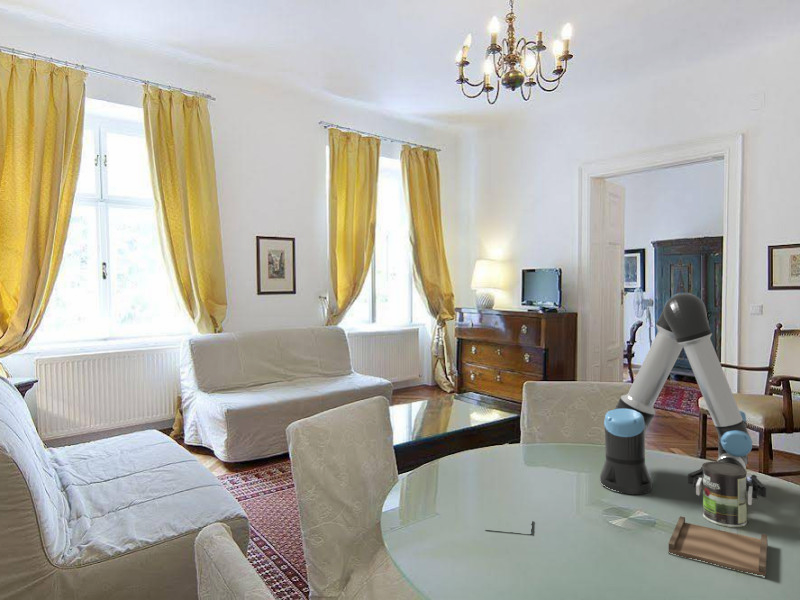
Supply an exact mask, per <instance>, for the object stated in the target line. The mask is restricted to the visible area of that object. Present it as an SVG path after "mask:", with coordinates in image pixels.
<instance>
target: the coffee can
mask: <svg viewBox="0 0 800 600" xmlns="http://www.w3.org/2000/svg"><path fill="white" fill-rule="evenodd" d="M701 467H702V468H703V485H702V509H703V510H702V511H703V512H702V516H703V518H704V519H705V520H706V521H708V522H709V523H712V524H715V525H716V526H717V525H718V526H722V527H726V526H727V527H728V528H743V527H745V526H746V525H747V524H748V521H747V491H746V477H747V473H748V471H747V469H746V470H745V469H744V468H742V467H740V466H738V465H735V464H731V463H726V462H717V461H706V462H703V463H702V465H701ZM742 526H743V527H742ZM727 527H726V528H727Z"/></svg>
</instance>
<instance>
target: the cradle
mask: <svg viewBox="0 0 800 600" xmlns="http://www.w3.org/2000/svg"><path fill="white" fill-rule="evenodd" d="M669 552H670V553H673V554H676V555H679V556H683V557H686V558H685V559H687V558H692V559H697V560H701V561H705V562H708V563H712V564H716V565H719V566H723V567H727V568H731V569H735V570H739V571H743V572H748V573H753V574H757V575H763V576H765V575H767V562H766V561H768V560H767V558H768V534H764V533H761V534H760V538H757V537H753V536H748V535H744V534H739V533H734V532H730V531H726V530H720V529H717V528H712V527H707V526H704V525H703V526H702V525H698V524H693V523H689V522H686V517H685V516H681V515H680V516H679V517H678V521H677V522H676V525H675V527H674V530H673V532H672V535H670V539H669V542H668V553H669ZM679 556H678V557H679ZM683 557H682V558H683Z"/></svg>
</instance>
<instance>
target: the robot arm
mask: <svg viewBox="0 0 800 600" xmlns="http://www.w3.org/2000/svg"><path fill="white" fill-rule="evenodd" d="M655 326H656V329H657V333H656V336H655V337H654V340H653V342H652V343H651V346H650V348H649V350H648V351H647V354H646V356H645V358H644V360H643V362H642V363H641V366H640V367H639V370H638V371H637V373H636V376H635V378H634V379H633V383H632V384H631V387H630V388H629V390H628V393H626V394H623V395H620V398H619V400H618V401H617V405H616V406H615V409H611V410H608V411H607V412H606V413H605V415H604V421H603V425H604V439H605V440H604V445H605V446H604V448H605V449H604V450H605V452H604V454H605V461H604V464H603V467H602V468H601V469H602V470H601V473H600V476H599V477H600V479H599V480H600V481H601V483H602V484H603V485H605V486H606V487H608V488H610V489H613V490H616V491H619V492H622V493H621V494H624V493H628V494H627V495H642V494H647V493H650V492H651V491H652V488H653V486H652V483H653V482H652V479H651V476H650V473H649V469H648V468H647V465H646V450H645V448H646V447H645V445H646V444H645V443H646V441H645V439H646V434H647V430H648V428H649V426H650V425H651V423H652V420H653V419H654V417H655V415H656V411H655V408H654V406H655V403H656V401H657V399H658V397H659V395H660V394H661V391H662V389H663V387H664V385H665V383H666V382H667V379H668V377H669V375H670V373H671V371H672V370H673V368H674V366H675V364H676V361H677V360H678V358H679V356H680V354H681V352H682V350H684V353H685V355H686V357H687V360H688V363H689V365H690V369H691V370H692V373H693V375H694V377H695V380H696V383H697V385H698V387H699V390H700V393H701V395H702V397H703V400H704V403H705V405H706V407H707V409H708V413H709V415H710V417H711V419H712V422H713V424H714V427H715V428H714V429H715V430H716V433H717V435H718V436H717V437H718V442H717V443H718V444H717V445H718V447H717V448H718V455H717V459H716V462H726V463H731V464H735V465H738V466H740V467H742V468H744V469H745V470H746V471H747V469H746V468H747V465H748V463H749V462H748V460H749V458H748V454H750V452H751V451H752V449H753V440H752V438H751V436H750V434H749V431H748V428H747V423H748V422H747V417H746V416H747V415H746V413H745V412H743V411H742V410H740V409H739V407H738V404H737V402H736V399H735V397H734V394H733V392H732V390H731V387H730V385H729V382H728V379H727V377H726V374H725V372H724V369H723V367H722V364H721V362H720V360H719V357H718V355H717V352H716V349H715V347H714V345H713V342H712V340H711V336H712V335H713V333H712V330H711V327H710V323H709V319H708V315H707V309H706V305H705V303H704V301H703V300H702V299H701V298H700V297H699V296H697V295H696V294H693V293H690V292H678V293H676V294H673V295H671V296H670V297H669V298H668V299H667V300H666V302H665V304H664V308H663V309H662V311H661V314H660V315H659V318H658V320H657V322H656V324H655ZM757 477H758V476H757V475H756V474H751V475H749V476H746V493H747V504H748V505H749V506H752V504H753V499H754V500H758V498H759V496H761V497H762V498H766V497H767V487H766V486H765V485H764V484H763V483H762V482H761V481H760V480H759V479H758V478H757ZM600 481H599V482H600ZM601 483H600V484H601ZM687 483H688V484H691V485H692V484H693V485H692V486H693V488H695V494H696V496H700V494H701V492H702V491H703V468H702V466H701V467H700V469H697V470H694V471H693V472H691V473H688V474H687Z"/></svg>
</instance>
